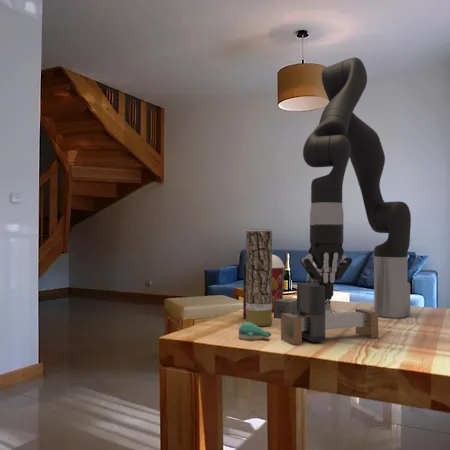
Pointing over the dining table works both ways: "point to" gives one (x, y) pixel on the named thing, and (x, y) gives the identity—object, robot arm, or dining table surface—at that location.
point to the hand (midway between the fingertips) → (326, 298)
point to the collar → (312, 309)
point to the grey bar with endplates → (329, 324)
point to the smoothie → (277, 279)
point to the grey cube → (284, 307)
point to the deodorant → (244, 292)
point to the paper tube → (259, 276)
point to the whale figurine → (252, 332)
